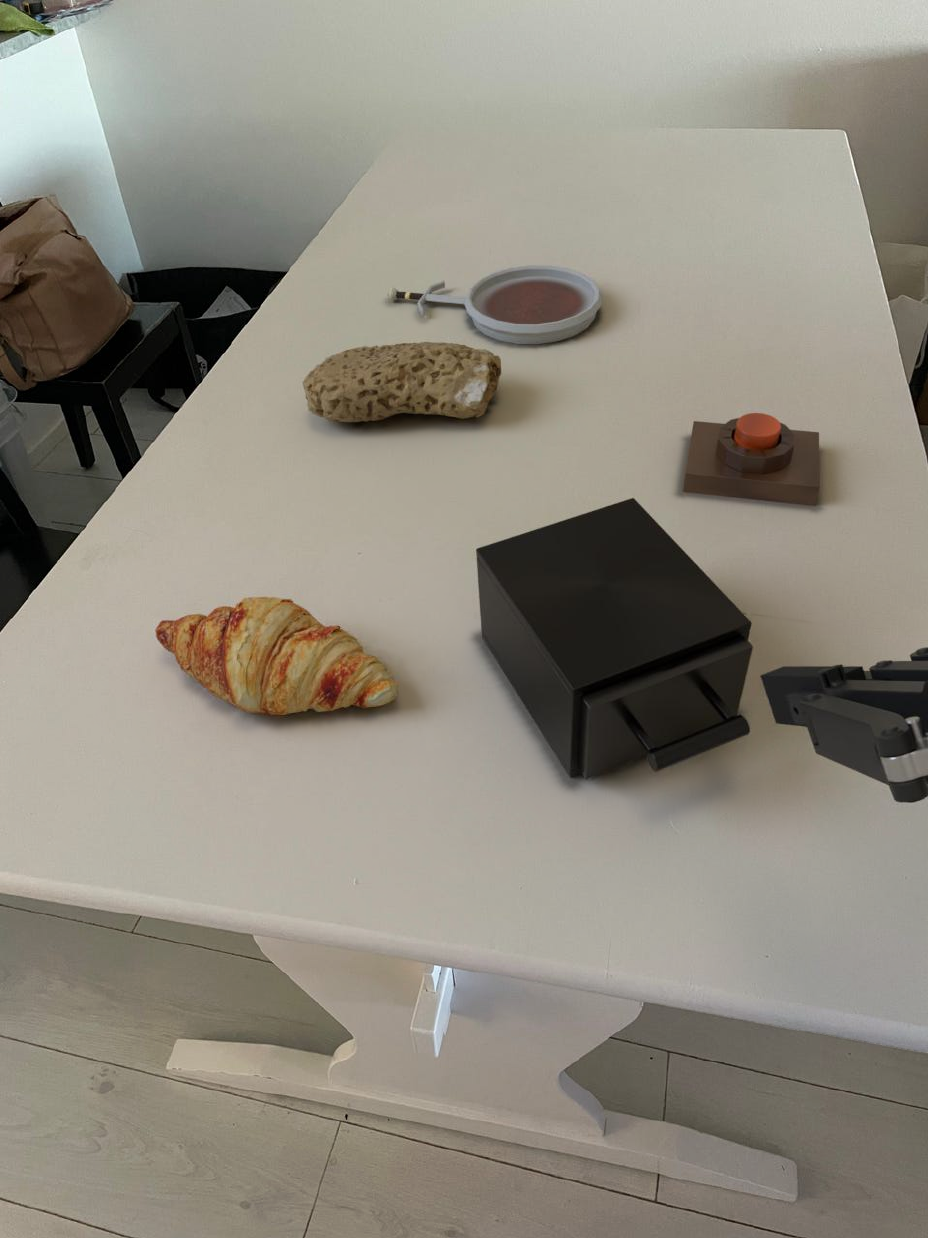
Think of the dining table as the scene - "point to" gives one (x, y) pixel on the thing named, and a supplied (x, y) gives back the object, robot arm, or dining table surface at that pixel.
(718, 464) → the control block
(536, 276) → the frying pan
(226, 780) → the dining table surface
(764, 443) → the button
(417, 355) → the sponge
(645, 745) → the open drawer with handle
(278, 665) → the croissant
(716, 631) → the black drawer unit
